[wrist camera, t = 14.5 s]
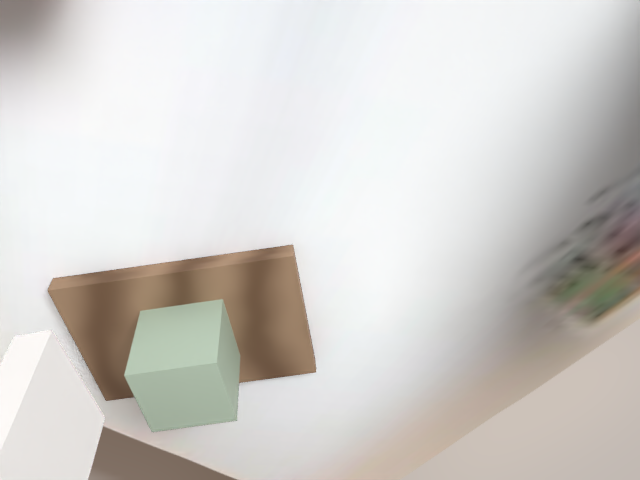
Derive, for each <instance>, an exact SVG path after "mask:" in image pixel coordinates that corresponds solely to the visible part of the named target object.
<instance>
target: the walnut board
mask: <svg viewBox="0 0 640 480" xmlns="http://www.w3.org/2000/svg"><path fill="white" fill-rule="evenodd" d="M48 292H49V294H50V296H51V298H52V300H53V302H54V304H55V306H56V307H57V309H58V311H59V313H60V315H61V317H62V319H63V321H64V323H65V324H66V326H67V328H68V330H69V332H70V334H71V336H72V338H73V339H74V341H75V343H76V345H77V347H78V349H79V351H80V353H81V355H82V356H83V358H84V360H85V362H86V364H87V366H88V368H89V370H90V371H91V373H92V375H93V377H94V379H95V381H96V383H97V385H98V387H99V388H100V390H101V392H102V394H103V396H104V398H105V400H106V401H109V400H116V399H123V398H131V397H134V395H133V393H132V391H131V389H130V387H129V385H128V383H127V380H126V378H125V376H124V374H125V370H126V366H127V362H128V358H129V354H130V350H131V346H132V342H133V338H134V334H135V330H136V326H137V322H138V318H139V314H140V311H143V310H150V309H157V308H164V307H171V306H178V305H185V304H192V303H199V302H206V301H213V300H220V299H223V301H224V304H225V308H226V311H227V314H228V317H229V321H230V324H231V327H232V330H233V334H234V337H235V340H236V343H237V347H238V350H239V353H240V373H239V383H241V382H248V381H256V380H263V379H270V378H278V377H285V376H292V375H300V374H307V373H315V372H316V364H315V356H314V351H313V346H312V341H311V336H310V330H309V325H308V320H307V315H306V310H305V304H304V299H303V294H302V289H301V284H300V279H299V273H298V268H297V263H296V258H295V253H294V247H293V245H288V246H280V247H273V248H266V249H259V250H252V251H245V252H238V253H231V254H224V255H217V256H209V257H202V258H195V259H188V260H181V261H174V262H167V263H160V264H153V265H146V266H138V267H131V268H124V269H117V270H110V271H103V272H96V273H89V274H82V275H75V276H67V277H60V278H53V279H52V282H51V284H50V286H49V288H48Z"/></svg>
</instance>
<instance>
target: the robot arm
mask: <svg viewBox="0 0 640 480" xmlns="http://www.w3.org/2000/svg"><path fill="white" fill-rule="evenodd" d="M104 421H105V416H104V414H103V413H102V411H101V409H100V408H99V406H98V404H97V403H96V401H95V400H94V398H93V396H92V395H91V393H90V391H89V390H88V388H87V386H86V385H85V383H84V381H83V380H82V378H81V376H80V375H79V373H78V371H77V370H76V368H75V367H74V365H73V363H72V362H71V360H70V358H69V357H68V355H67V353H66V352H65V350H64V348H63V347H62V345H61V343H60V342H59V340H58V338H57V337H56V335H55V334H54V332H53V330H47V331H41V332H35V333H29V334H23V335H16V336H14V337H13V339H12V341H11V344H10V346H9V348H8V350H7V352H6V354H5V356H4V358H3V360H2V362H1V364H0V480H88V478H89V474H90V471H91V467H92V463H93V460H94V456H95V453H96V449H97V445H98V442H99V438H100V435H101V431H102V428H103V424H104Z"/></svg>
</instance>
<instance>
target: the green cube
mask: <svg viewBox="0 0 640 480" xmlns="http://www.w3.org/2000/svg"><path fill="white" fill-rule="evenodd" d="M239 373H240V353H239V350H238V347H237V343H236V340H235V337H234V334H233V330H232V327H231V324H230V321H229V317H228V314H227V311H226V308H225V304H224V301H223V299H220V300H213V301H206V302H199V303H192V304H185V305H178V306H171V307H164V308H157V309H150V310H143V311H140V314H139V318H138V322H137V326H136V330H135V334H134V338H133V342H132V346H131V350H130V354H129V358H128V362H127V366H126V370H125V374H124V376H125V378H126V380H127V383H128V385H129V387H130V389H131V391H132V393H133V395H134V397H135V399H136V401H137V403H138V405H139V407H140V409H141V411H142V413H143V415H144V417H145V419H146V421H147V423H148V425H149V427H150V429H151V431H152V432H158V431H165V430H172V429H180V428H187V427H194V426H201V425H209V424H216V423H223V422H230V421H237V410H238V391H239Z"/></svg>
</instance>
